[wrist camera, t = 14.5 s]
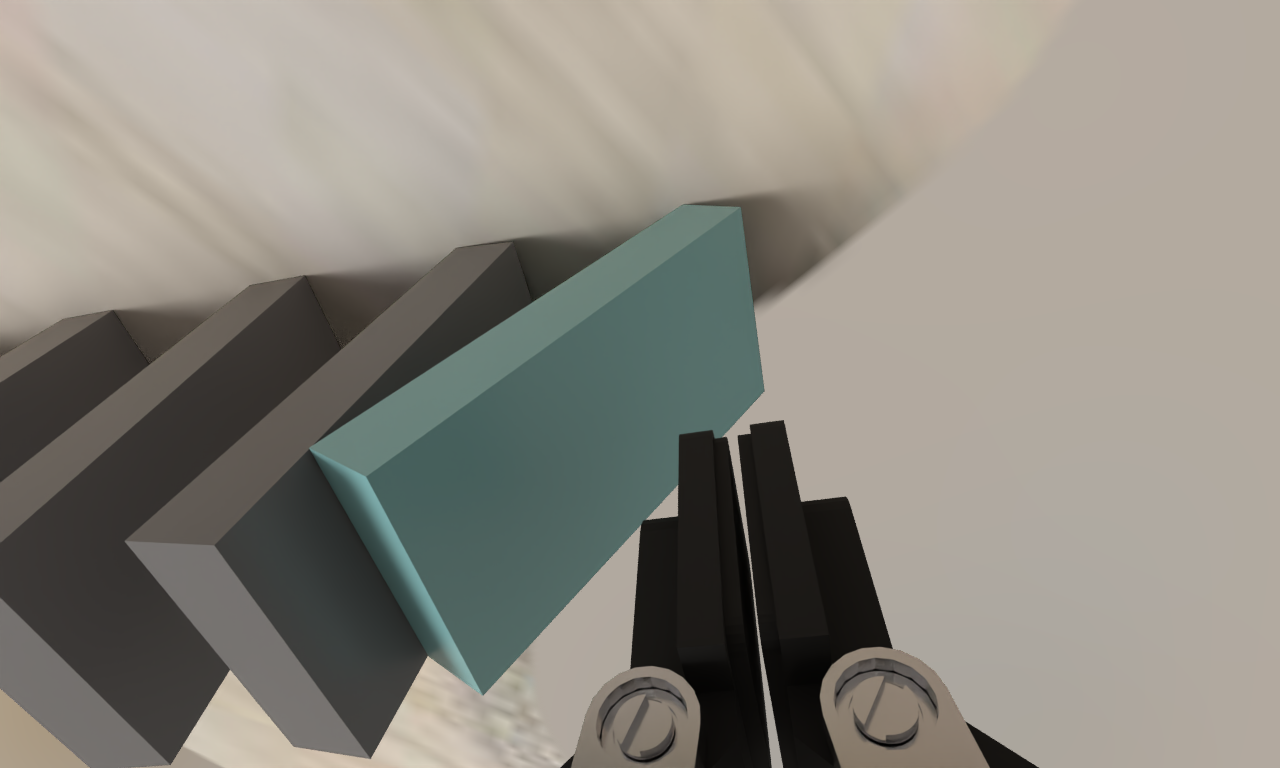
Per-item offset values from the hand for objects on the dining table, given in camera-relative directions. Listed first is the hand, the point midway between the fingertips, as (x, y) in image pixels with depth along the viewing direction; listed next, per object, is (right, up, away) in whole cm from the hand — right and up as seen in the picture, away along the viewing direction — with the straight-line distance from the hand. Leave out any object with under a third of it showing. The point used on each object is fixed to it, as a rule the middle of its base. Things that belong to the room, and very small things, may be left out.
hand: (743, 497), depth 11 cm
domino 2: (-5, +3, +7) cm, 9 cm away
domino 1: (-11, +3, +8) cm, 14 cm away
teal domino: (0, +4, +6) cm, 7 cm away
